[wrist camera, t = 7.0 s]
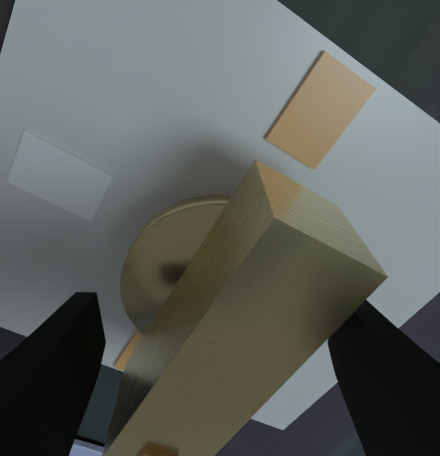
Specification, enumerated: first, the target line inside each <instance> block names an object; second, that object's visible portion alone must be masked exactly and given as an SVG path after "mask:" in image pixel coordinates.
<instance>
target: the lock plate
mask: <svg viewBox="0 0 440 456" xmlns="http://www.w3.org/2000/svg"><path fill="white" fill-rule="evenodd" d="M255 159H256V160H257V161H259V162H261V163H263V164H265V165H266V166H268V167H270V168H272V169H274V170H275V171H277V172H279V173H281V174H282V175H284V176H286V177H288V178H290V179H291V180H293V181H295V182H297V183H299V184H300V185H302V186H304V187H306V188H308V189H309V190H311V191H313V192H315V193H316V194H318V195H320V196H322V197H324V198H325V199H327V200H329V201H331V202H333V203H334V204H336V205H338V207H339V208H340V210H341V211H342V212H343V214H344V215H345V217H346V218H347V219H348V221H349V222H350V224H351V225H352V226H353V228H354V229H355V231H356V232H357V233H358V235H359V236H360V238H361V239H362V241H363V242H364V243H365V245H366V246H367V248H368V249H369V250H370V252H371V253H372V255H373V256H374V257H375V259H376V260H377V262H378V263H379V264H380V266H381V267H382V269H383V270H384V271H385V273H386V274H387V276H388V278H387V279H386V280H385V281H384V282H383V283H382V284H381V285H380V286H379V287H378V288H377V289H376V290H375V291H374V292H373V293H372V294H371V295H370V296H369V297H368V298H367V299H366V300H367V301H368V302H369V303H371V304H372V305H373V306H374V307H375V308H376V309H377V310H378V311H379V312H380V313H382V314H383V315H384V316H385V317H386V318H387V319H388V320H389V321H390V322H392V323H393V324H394V325H395V326H396V327H397V328H399V327H400V326H401V325H403V324H404V323H405V322H406V321H407V320H408V319H409V318H411V317H412V316H413V315H414V314H415V313H416V312H417V311H418V310H420V309H421V308H422V307H423V306H424V305H425V304H426V303H428V302H429V301H430V300H431V299H432V298H433V297H434V296H435V295H437V294H438V293H439V292H440V123H438V122H437V121H436V120H434V119H433V118H432V117H430V116H429V115H428V114H426V113H425V112H424V111H422V110H421V109H420V108H418V107H417V106H416V105H414V104H413V103H412V102H410V101H409V100H408V99H406V98H405V97H404V96H403V95H401V94H400V93H399V92H397V91H396V90H395V89H393V88H392V87H391V86H389V85H388V84H387V83H385V82H384V81H383V80H381V79H380V78H379V77H377V76H376V75H375V74H373V73H372V72H371V71H370V70H368V69H367V68H366V67H364V66H363V65H362V64H360V63H359V62H358V61H356V60H355V59H354V58H352V57H351V56H350V55H348V54H347V53H346V52H344V51H343V50H342V49H340V48H339V47H338V46H336V45H335V44H334V43H333V42H331V41H330V40H329V39H327V38H326V37H325V36H323V35H322V34H321V33H319V32H318V31H317V30H315V29H314V28H313V27H311V26H310V25H309V24H307V23H306V22H305V21H303V20H302V19H301V18H299V17H298V16H297V15H296V14H294V13H293V12H292V11H290V10H289V9H288V8H286V7H285V6H284V5H282V4H281V3H280V2H278V1H277V0H15V4H14V7H13V11H12V15H11V18H10V22H9V25H8V29H7V32H6V36H5V39H4V43H3V47H2V50H1V54H0V327H2V328H5V329H8V330H10V331H13V332H16V333H18V334H21V335H24V336H27V337H28V336H29V335H30V334H31V333H32V332H33V331H35V330H36V329H37V328H38V327H39V326H40V325H41V324H42V323H43V322H44V321H45V320H46V319H47V318H49V317H50V316H51V315H52V314H53V313H54V312H55V311H56V310H57V309H58V308H59V307H60V306H61V305H62V304H63V303H65V302H66V301H67V300H68V299H69V298H70V297H71V296H72V295H73V294H74V293H75V292H97V296H98V302H99V307H100V312H101V318H102V323H103V329H104V334H105V339H106V345H105V349H104V354H103V358H102V362H101V364H103V365H106V366H109V367H111V368H114V369H117V370H120V371H122V372H124V369H125V365H126V363H127V361H128V359H129V358H130V356H131V355H132V353H133V351H134V350H135V348H136V347H137V345H138V344H139V342H140V340H141V339H142V337H143V336H144V335H143V334H142V333H140V332H139V330H138V329H137V328H136V327H135V326H134V325H133V323H132V322H131V320H130V318H129V317H128V315H127V313H126V311H125V309H124V306H123V303H122V299H121V294H120V276H121V271H122V267H123V264H124V261H125V259H126V256H127V254H128V251H129V248H130V246H131V244H132V241H133V239H134V238H135V236H136V235H137V233H138V231H139V230H140V229H141V228H142V227H143V225H144V224H145V223H146V222H147V221H148V220H149V219H151V218H152V217H153V216H154V215H155V214H157V213H158V212H160V211H161V210H163V209H164V208H166V207H168V206H170V205H172V204H174V203H176V202H179V201H182V200H185V199H188V198H192V197H197V196H202V195H213V194H222V195H233V193H234V192H235V190H236V189H237V187H238V185H239V184H240V182H241V181H242V179H243V178H244V176H245V174H246V173H247V171H248V170H249V168H250V166H251V165H252V163H253V162H254V160H255ZM327 342H328V339H327V340H326V341H325V342H324V343H323V344H322V345H321V346H320V348H319V349H318V350H317V351H316V352H315V353H314V354H313V355H312V356H311V357H310V358H309V359H308V360H307V361H306V362H305V363H304V364H303V365H302V366H301V367H300V368H299V369H298V370H297V371H296V372H295V373H294V374H293V375H292V376H291V377H290V378H289V379H288V380H287V381H286V382H285V383H284V385H283V386H282V387H281V388H280V389H279V390H278V391H277V392H276V393H275V394H274V395H273V396H272V397H271V398H270V399H269V400H268V401H267V402H266V403H265V404H264V405H263V406H262V407H261V408H260V409H259V410H258V411H257V412H256V413H255V414H254V415H253V416H252V417H251V419H254V420H256V421H259V422H262V423H265V424H267V425H270V426H273V427H276V428H278V429H281V430H284V429H285V428H286V427H287V426H288V425H289V424H291V423H292V422H293V421H294V420H295V419H296V418H297V417H298V416H300V415H301V414H302V413H303V412H304V411H305V410H306V409H307V408H309V407H310V406H311V405H312V404H313V403H314V402H315V401H317V400H318V399H319V398H320V397H321V396H322V395H323V394H324V393H326V392H327V391H328V390H329V389H330V388H331V387H332V386H334V385H335V384H336V383H337V382H338V381H337V378H336V376H335V372H334V368H333V364H332V361H331V356H330V352H329V348H328V343H327Z"/></svg>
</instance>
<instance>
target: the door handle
mask: <svg viewBox="0 0 440 456" xmlns="http://www.w3.org/2000/svg"><path fill="white" fill-rule="evenodd" d="M387 278H388V276H387V274H386V273H385V271H384V270H383V269H382V267H381V266H380V264H379V263H378V262H377V260H376V259H375V257H374V256H373V255H372V253H371V252H370V250H369V249H368V248H367V246H366V245H365V243H364V242H363V241H362V239H361V238H360V236H359V235H358V233H357V232H356V231H355V229H354V228H353V226H352V225H351V224H350V222H349V221H348V219H347V218H346V217H345V215H344V214H343V212H342V211H341V210H340V208H339V207H338V205H336V204H334V203H333V202H331V201H329V200H327V199H325V198H324V197H322V196H320V195H318V194H316V193H315V192H313V191H311V190H309V189H308V188H306V187H304V186H302V185H300V184H299V183H297V182H295V181H293V180H291V179H290V178H288V177H286V176H284V175H282V174H281V173H279V172H277V171H275V170H274V169H272V168H270V167H268V166H266V165H265V164H263V163H261V162H259V161H257V160H256V159H255V160H254V162H253V163H252V165H251V166H250V168H249V170H248V171H247V173H246V174H245V176H244V178H243V179H242V181H241V182H240V184H239V185H238V187H237V189H236V190H235V192H234V193H233V195H222V194H213V195H202V196H197V197H192V198H188V199H185V200H182V201H179V202H176V203H174V204H172V205H170V206H168V207H166V208H164V209H163V210H161V211H160V212H158V213H157V214H155V215H154V216H153V217H152V218H151V219H149V220H148V221H147V222H146V223H145V224H144V225H143V227H142V228H141V229H140V230H139V231H138V233H137V235H136V236H135V238H134V239H133V241H132V244H131V246H130V248H129V251H128V254H127V256H126V259H125V261H124V264H123V267H122V271H121V276H120V294H121V299H122V303H123V306H124V309H125V311H126V313H127V315H128V317H129V318H130V320H131V322H132V323H133V325H134V326H135V327H136V328H137V329H138V330H139V332H140V333H142V334H143V335H144V336H143V337H142V339H141V340H140V342H139V344H138V345H137V347H136V348H135V350H134V351H133V353H132V355H131V356H130V358H129V359H128V361H127V363H126V365H125V369H124V373H123V377H122V381H121V384H120V388H119V392H118V396H117V400H116V404H115V407H114V411H113V415H112V419H111V423H110V427H109V430H108V434H107V438H106V442H105V446H104V450H103V454H102V456H214V455H215V454H216V453H217V452H218V451H219V450H220V449H221V448H222V447H223V446H224V445H225V444H226V443H227V442H228V441H229V440H230V439H231V438H232V437H233V436H234V435H235V434H236V433H237V432H238V431H239V430H240V429H241V428H242V427H243V426H244V425H245V424H246V423H247V422H248V420H249V419H250V418H251V417H252V416H253V415H254V414H255V413H256V412H257V411H258V410H259V409H260V408H261V407H262V406H263V405H264V404H265V403H266V402H267V401H268V400H269V399H270V398H271V397H272V396H273V395H274V394H275V393H276V392H277V391H278V390H279V389H280V388H281V387H282V386H283V385H284V383H285V382H286V381H287V380H288V379H289V378H290V377H291V376H292V375H293V374H294V373H295V372H296V371H297V370H298V369H299V368H300V367H301V366H302V365H303V364H304V363H305V362H306V361H307V360H308V359H309V358H310V357H311V356H312V355H313V354H314V353H315V352H316V351H317V350H318V349H319V348H320V346H321V345H322V344H323V343H324V342H325V341H326V340H327V339H328V338H329V337H330V336H331V335H332V334H333V333H334V332H335V331H336V330H337V329H338V328H339V327H340V326H341V325H342V324H343V323H344V322H345V321H346V320H347V319H348V318H349V317H350V316H351V315H352V314H353V313H354V312H355V311H356V310H357V308H358V307H359V306H360V305H361V304H362V303H363V302H364V301H365V300H366V299H367V298H368V297H369V296H370V295H371V294H372V293H373V292H374V291H375V290H376V289H377V288H378V287H379V286H380V285H381V284H382V283H383V282H384V281H385V280H386V279H387Z"/></svg>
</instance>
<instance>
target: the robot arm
mask: <svg viewBox="0 0 440 456" xmlns="http://www.w3.org/2000/svg"><path fill="white" fill-rule="evenodd" d="M327 343H328V348H329V352H330V356H331V361H332V364H333V368H334V372H335V376H336V378H337V381H338V384H339V386H340V389H341V392H342V394H343V397H344V400H345V402H346V405H347V407H348V410H349V413H350V415H351V418H352V420H353V423H354V426H355V428H356V431H357V433H358V436H359V439H360V441H361V444H362V446H363V449H364V452H365V454H366V456H440V363H439V362H437V361H436V360H435V359H433V358H432V357H431V356H430V355H429V354H427V353H426V352H425V351H424V350H423V349H421V348H420V347H419V346H418V345H417V344H415V343H414V342H413V341H412V340H411V339H410V338H408V337H407V336H406V335H405V334H404V333H403V332H402V331H400V330H399V329H398V328H397V327H396V326H395V325H394V324H393V323H392V322H390V321H389V320H388V319H387V318H386V317H385V316H384V315H383V314H382V313H380V312H379V311H378V310H377V309H376V308H375V307H374V306H373V305H372V304H371V303H369V302H368V301H367V300H365V301H364V302H363V303H362V304H361V305H360V306H359V307H358V308H357V310H356V311H355V312H354V313H353V314H352V315H351V316H350V317H349V318H348V319H347V320H346V321H345V322H344V323H343V324H342V325H341V326H340V327H339V328H338V329H337V330H336V331H335V332H334V333H333V334H332V335H331V336H330V337H329V338H328V342H327ZM105 345H106V339H105V334H104V329H103V323H102V318H101V312H100V307H99V302H98V296H97V292H75V293H74V294H73V295H72V296H71V297H70V298H69V299H68V300H67V301H66V302H65V303H63V304H62V305H61V306H60V307H59V308H58V309H57V310H56V311H55V312H54V313H53V314H52V315H51V316H50V317H49V318H47V319H46V320H45V321H44V322H43V323H42V324H41V325H40V326H39V327H38V328H37V329H36V330H35V331H33V332H32V333H31V334H30V335H29V336H28V337H27V338H26V339H25V340H23V341H22V342H21V343H20V344H19V345H18V346H17V347H16V348H14V349H13V350H12V351H11V352H10V353H8V354H7V355H6V356H5V357H4V358H2V359H1V360H0V456H102V454H103V450H104V447H102V446H98V445H95V444H92V443H88V442H85V441H82V440H78V439H75V438H76V435H77V432H78V430H79V427H80V424H81V421H82V419H83V416H84V413H85V411H86V408H87V405H88V403H89V400H90V397H91V394H92V392H93V389H94V386H95V383H96V380H97V378H98V375H99V370H100V366H101V362H102V358H103V354H104V349H105Z"/></svg>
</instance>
